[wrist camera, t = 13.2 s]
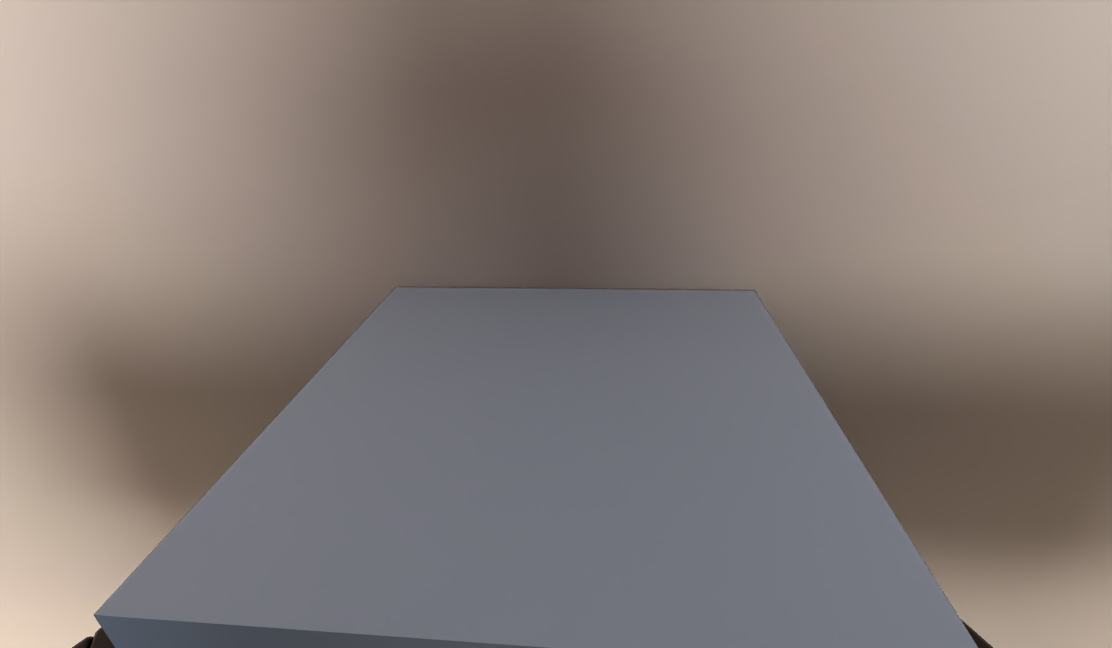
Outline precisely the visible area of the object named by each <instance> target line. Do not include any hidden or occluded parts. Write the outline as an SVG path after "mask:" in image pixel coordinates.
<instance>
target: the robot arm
mask: <svg viewBox="0 0 1112 648" xmlns="http://www.w3.org/2000/svg"><path fill="white" fill-rule="evenodd" d="M960 620H961V619H960ZM961 621H962V620H961ZM962 623H963V624H964V626H965V627H966V629H967V631H968V632H969V634H970V635H971V637H972V639H973V640H974V642H975V643H976V645H977V647H978V648H993V647H992V646H991V645H990V644H988V643H987V642H986V641H985V640H984V639H983V638H982V637H980V636H979V635H978V634H977V633H976V632H975V631H974V630H972V629H971V628H970V627H969V626H968V625H967V624H966V623H964V622H963V621H962ZM72 648H115V647H114V645H113V644H112V642H111V641H110V639H109V638H108V636H107V634H106V633H105V631H104V630H103V628H102V627H101V628H100V629H99V630H98V631H96V633H95V635H94V637H87V638H85V639H84V640H82V641H81V642H79V643H78V644H76V645H75V646H73V647H72Z"/></svg>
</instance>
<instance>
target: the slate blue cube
mask: <svg viewBox="0 0 1112 648" xmlns="http://www.w3.org/2000/svg"><path fill="white" fill-rule="evenodd" d="M94 616H95V618H96V619H97V621H98V622H99V624H100V625H101V627H102V628H103V630H104V631H105V633H106V634H107V636H108V638H109V639H110V641H111V642H112V644H113V645H114V647H115V648H978V647H977V645H976V643H975V642H974V640H973V639H972V637H971V635H970V634H969V632H968V631H967V629H966V627H965V626H964V624H963V623H962V621H961V620H960V618H959V616H958V615H957V613H956V612H955V610H954V608H953V607H952V605H951V604H950V602H949V600H948V599H947V597H946V596H945V594H944V592H943V591H942V589H941V588H940V586H939V584H938V583H937V581H936V580H935V578H934V576H933V575H932V573H931V572H930V570H929V568H928V567H927V565H926V564H925V562H924V560H923V559H922V557H921V556H920V554H919V552H918V551H917V549H916V548H915V546H914V544H913V543H912V541H911V540H910V538H909V536H908V535H907V533H906V532H905V530H904V528H903V527H902V525H901V524H900V522H899V520H898V519H897V517H896V516H895V514H894V512H893V511H892V509H891V508H890V506H889V505H888V503H887V501H886V500H885V498H884V497H883V495H882V493H881V492H880V490H879V489H878V487H877V485H876V484H875V482H874V481H873V479H872V477H871V476H870V474H869V473H868V471H867V469H866V468H865V466H864V465H863V463H862V461H861V460H860V458H859V457H858V455H857V453H856V452H855V450H854V449H853V447H852V445H851V444H850V442H849V441H848V439H847V437H846V436H845V434H844V433H843V431H842V429H841V428H840V426H839V425H838V423H837V421H836V420H835V418H834V417H833V415H832V413H831V412H830V410H829V409H828V407H827V405H826V404H825V402H824V401H823V399H822V397H821V396H820V394H819V393H818V391H817V389H816V388H815V386H814V385H813V383H812V382H811V380H810V378H809V377H808V375H807V374H806V372H805V370H804V369H803V367H802V366H801V364H800V362H799V361H798V359H797V358H796V356H795V354H794V353H793V351H792V350H791V348H790V346H789V345H788V343H787V342H786V340H785V338H784V337H783V335H782V334H781V332H780V330H779V329H778V327H777V326H776V324H775V322H774V321H773V319H772V318H771V316H770V314H769V313H768V311H767V310H766V308H765V306H764V305H763V303H762V302H761V300H760V298H759V297H758V295H757V294H756V292H755V291H750V290H647V289H545V288H443V287H395V289H394V290H393V291H392V292H391V293H390V294H389V295H388V296H387V297H386V298H385V299H384V300H383V302H382V303H381V304H380V305H379V306H378V307H377V308H376V309H375V310H374V311H373V312H372V314H371V315H370V316H369V317H368V318H367V319H366V320H365V321H364V322H363V323H362V324H361V325H360V327H359V328H358V329H357V330H356V331H355V332H354V333H353V334H352V335H351V336H350V337H349V338H348V340H347V341H346V342H345V343H344V344H343V345H342V346H341V347H340V348H339V349H338V350H337V351H336V353H335V354H334V355H333V356H332V357H331V358H330V359H329V360H328V361H327V362H326V363H325V364H324V366H323V367H322V368H321V369H320V370H319V371H318V372H317V373H316V374H315V375H314V376H313V378H312V379H311V380H310V381H309V382H308V383H307V384H306V385H305V386H304V387H303V388H302V389H301V391H300V392H299V393H298V394H297V395H296V396H295V397H294V398H293V399H292V400H291V401H290V402H289V404H288V405H287V406H286V407H285V408H284V409H283V410H282V411H281V412H280V413H279V414H278V415H277V417H276V418H275V419H274V420H273V421H272V422H271V423H270V424H269V425H268V426H267V427H266V428H265V430H264V431H263V432H262V433H261V434H260V435H259V436H258V437H257V438H256V439H255V440H254V442H253V443H252V444H251V445H250V446H249V447H248V448H247V449H246V450H245V451H244V452H243V453H242V455H241V456H240V457H239V458H238V459H237V460H236V461H235V462H234V463H233V464H232V465H231V466H230V468H229V469H228V470H227V471H226V472H225V473H224V474H223V475H222V476H221V477H220V478H219V479H218V481H217V482H216V483H215V484H214V485H213V486H212V487H211V488H210V489H209V490H208V491H207V492H206V494H205V495H204V496H203V497H202V498H201V499H200V500H199V501H198V502H197V503H196V504H195V506H194V507H193V508H192V509H191V510H190V511H189V512H188V513H187V514H186V515H185V516H184V517H183V519H182V520H181V521H180V522H179V523H178V524H177V525H176V526H175V527H174V528H173V529H172V530H171V532H170V533H169V534H168V535H167V536H166V537H165V538H164V539H163V540H162V541H161V542H160V543H159V545H158V546H157V547H156V548H155V549H154V550H153V551H152V552H151V553H150V554H149V555H148V556H147V558H146V559H145V560H144V561H143V562H142V563H141V564H140V565H139V566H138V567H137V568H136V570H135V571H134V572H133V573H132V574H131V575H130V576H129V577H128V578H127V579H126V580H125V581H124V583H123V584H122V585H121V586H120V587H119V588H118V589H117V590H116V591H115V592H114V593H113V594H112V596H111V597H110V598H109V599H108V600H107V601H106V602H105V603H104V604H103V605H102V606H101V607H100V609H99V610H98V611H97V612H96V613H95V614H94Z"/></svg>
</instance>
